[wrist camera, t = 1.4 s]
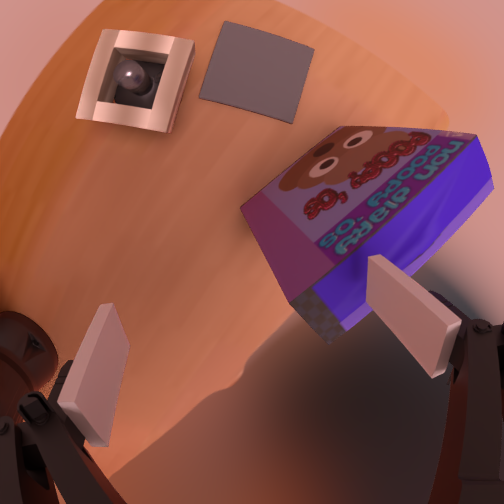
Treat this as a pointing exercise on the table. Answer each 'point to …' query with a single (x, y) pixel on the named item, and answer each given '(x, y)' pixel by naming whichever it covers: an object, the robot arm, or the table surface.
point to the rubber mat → (257, 72)
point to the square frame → (144, 49)
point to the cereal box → (363, 213)
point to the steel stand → (137, 83)
